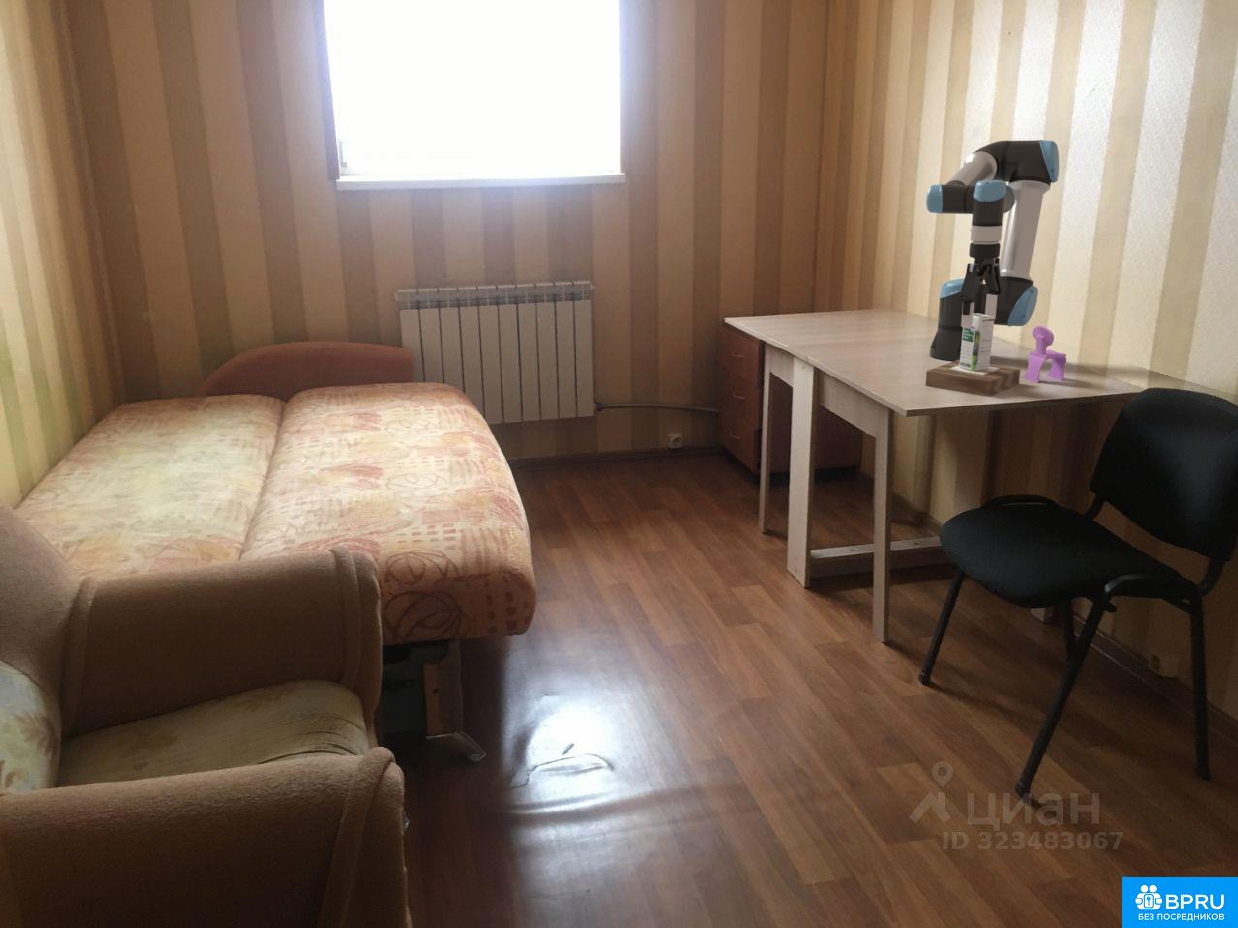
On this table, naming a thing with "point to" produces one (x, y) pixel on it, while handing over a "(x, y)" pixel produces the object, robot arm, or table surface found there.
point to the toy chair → (1044, 356)
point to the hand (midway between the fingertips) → (978, 323)
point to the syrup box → (977, 343)
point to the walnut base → (973, 378)
